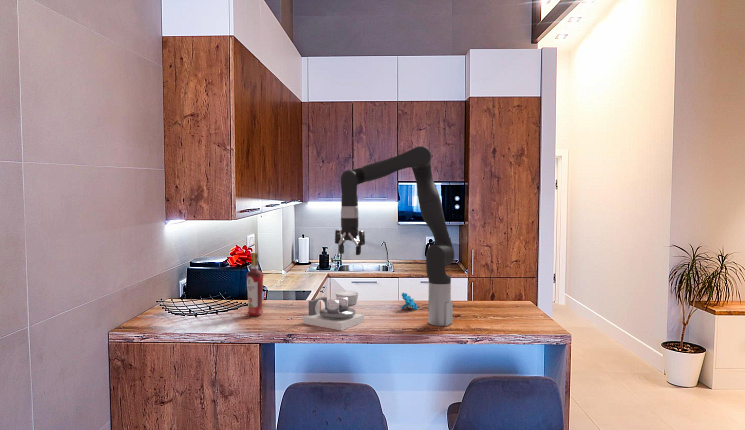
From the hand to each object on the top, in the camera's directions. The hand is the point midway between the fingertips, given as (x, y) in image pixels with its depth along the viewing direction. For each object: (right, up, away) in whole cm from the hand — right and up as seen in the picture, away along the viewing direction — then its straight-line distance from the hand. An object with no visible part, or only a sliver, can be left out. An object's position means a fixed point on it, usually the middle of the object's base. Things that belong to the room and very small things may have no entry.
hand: (349, 254), depth 224 cm
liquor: (-43, -28, +8) cm, 51 cm away
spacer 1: (-7, -23, -9) cm, 26 cm away
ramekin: (-3, -27, +32) cm, 42 cm away
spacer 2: (-3, -23, -4) cm, 24 cm away
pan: (-5, -24, -6) cm, 26 cm away
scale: (-7, -28, -5) cm, 30 cm away
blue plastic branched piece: (+27, -27, +20) cm, 44 cm away
